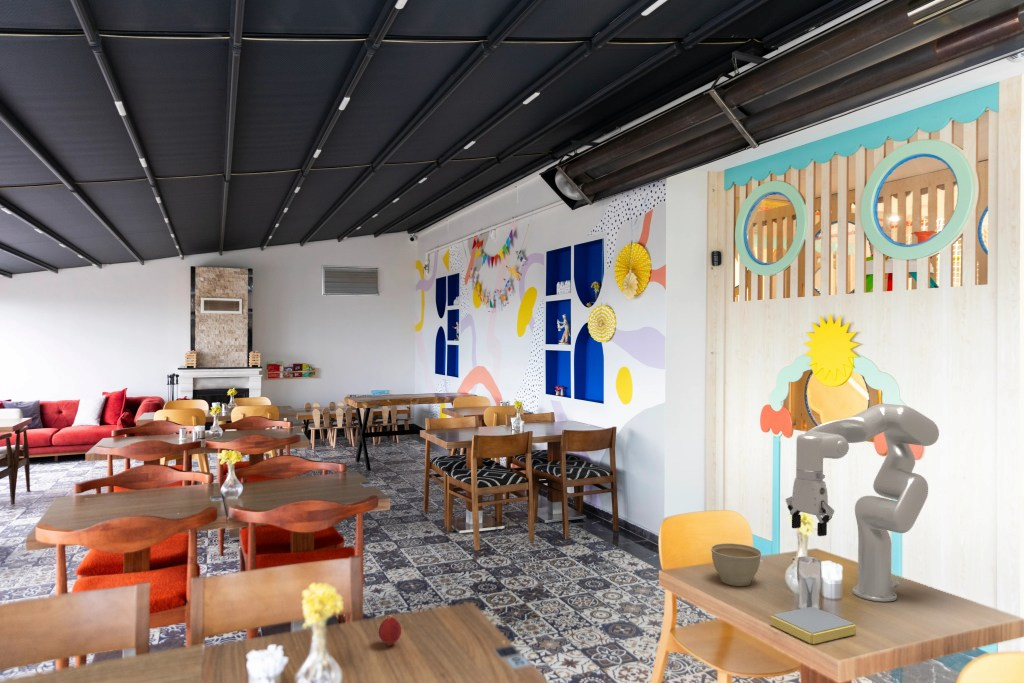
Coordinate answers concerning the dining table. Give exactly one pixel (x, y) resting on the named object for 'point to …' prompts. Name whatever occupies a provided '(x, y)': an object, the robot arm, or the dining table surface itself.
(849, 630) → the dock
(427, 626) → the dining table surface
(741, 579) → the planter bowl
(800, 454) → the robot arm
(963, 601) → the dining table surface
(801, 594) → the beer glass
